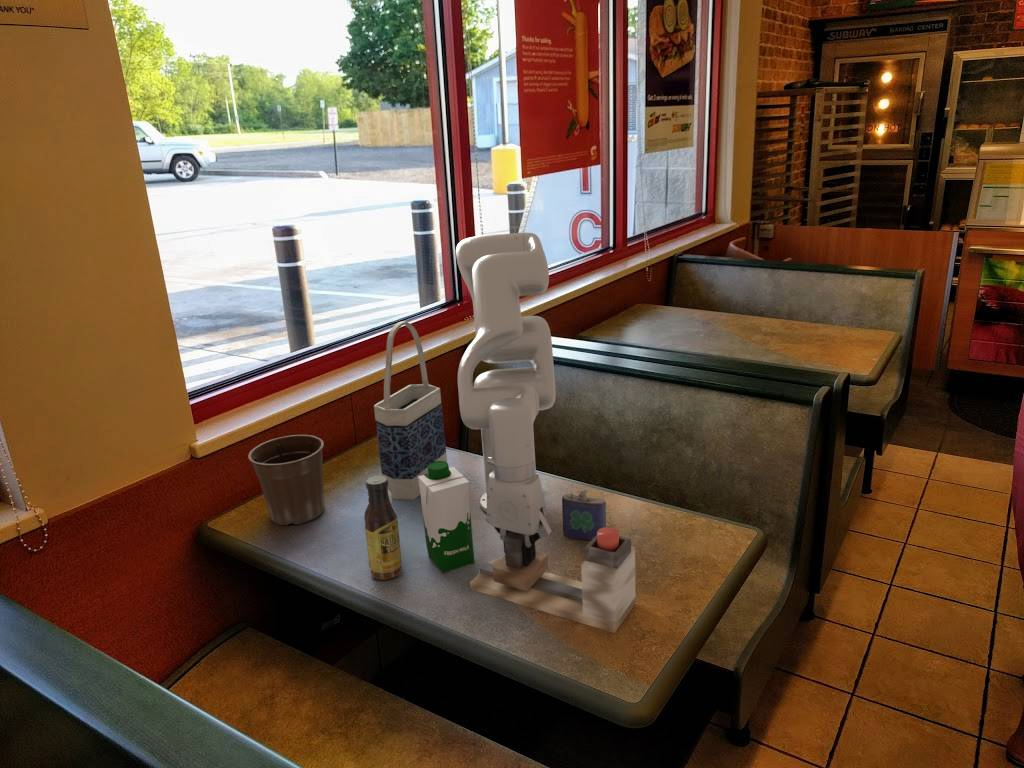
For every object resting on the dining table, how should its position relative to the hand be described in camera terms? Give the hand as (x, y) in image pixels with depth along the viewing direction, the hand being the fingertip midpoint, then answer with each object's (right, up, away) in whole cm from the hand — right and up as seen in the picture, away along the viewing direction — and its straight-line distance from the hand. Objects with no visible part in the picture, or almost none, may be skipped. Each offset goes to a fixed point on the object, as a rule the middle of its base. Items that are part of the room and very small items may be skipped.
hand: (520, 558), depth 139 cm
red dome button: (+15, +4, -11) cm, 19 cm away
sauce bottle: (-26, -5, +10) cm, 28 cm away
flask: (+13, 0, +18) cm, 22 cm away
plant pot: (-51, +2, +35) cm, 62 cm away
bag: (-25, +8, +47) cm, 53 cm away
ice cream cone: (-28, -1, +22) cm, 36 cm away
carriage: (0, -3, +1) cm, 3 cm away
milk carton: (-13, -3, +12) cm, 19 cm away
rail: (+5, -7, -1) cm, 8 cm away
